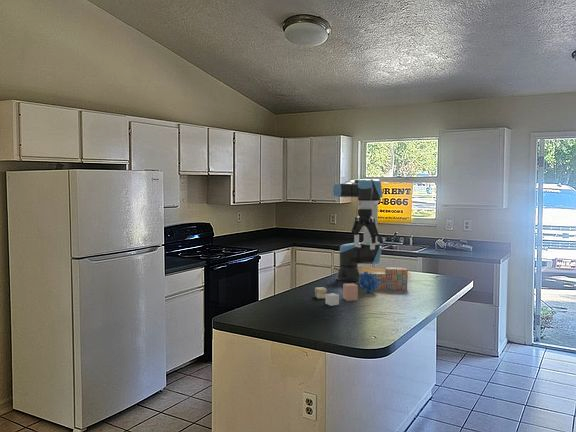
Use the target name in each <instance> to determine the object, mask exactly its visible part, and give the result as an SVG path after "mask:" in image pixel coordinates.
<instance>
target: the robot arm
mask: <svg viewBox="0 0 576 432" xmlns="http://www.w3.org/2000/svg"><path fill="white" fill-rule="evenodd" d="M332 195H333V197H334V198H357V216H355V218H354V222H353V226H352V228H351V234H353V242H351V243H350V242H349V243H344V244H341V245H340V246H339V269H338V271H337V273H336V280H337V281H341V282H357V281H358V279H359V278H360V274H361V273H360V271H359V268H358V265H359V264H361V265H378V264H379V263H380V262H381V257H382V249H383V246H381V243H380V242H379V241H378V237H379V231H378V219H379V218H378V215H379V214H378V212H379V211H378V208H379V207H378V206H379V205H378V204H379V202H380V201H381V199H382V198H383V197H384V196H383V187H382V182H381V180H380V179H378V178H377V179H376V178H365V179H363V178H362V179H361V178H354V179H349V180H345V181H344V182H343V183H334V184H333V186H332ZM362 228H363V241H362V242H361V245H360V231H361V230H362Z"/></svg>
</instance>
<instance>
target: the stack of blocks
mask: <svg viewBox="0 0 576 432" xmlns="http://www.w3.org/2000/svg"><path fill="white" fill-rule="evenodd" d="M384 269H385V270H384V272H383V271H382V272H380V271H379V272H378V271H376V272H374V271H373V272H372V271H370V272H369V274H370V273H371V274H373V275H374V278H376V279H377V283H376V284H377V285H378V288H377V289H376V290H384V291H385V290H388V291H389V290H390V291H391V290H393V291H394V290H395V291H408V279H409V276H408V275H409V274H408V269H407V267H389V266H387V267H385V268H384Z"/></svg>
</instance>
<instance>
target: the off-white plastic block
mask: <svg viewBox="0 0 576 432" xmlns="http://www.w3.org/2000/svg"><path fill="white" fill-rule="evenodd" d="M339 304H340V295H339V294H338V293H333V292H332V293H327V294H326V298H325V305H328V306H337V305H339Z"/></svg>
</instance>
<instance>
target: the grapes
mask: <svg viewBox="0 0 576 432" xmlns="http://www.w3.org/2000/svg"><path fill="white" fill-rule="evenodd" d="M359 274H360V278H359V279H358V283H359V286H360V288H361V289H362V290H364V292H366V293H375V292H376V290H378V289H377V288H378V285H377V284H376V283H377V279H376V278H374V275H373V274H371V273H370V272H368V271H364V272H363V273H359Z"/></svg>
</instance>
